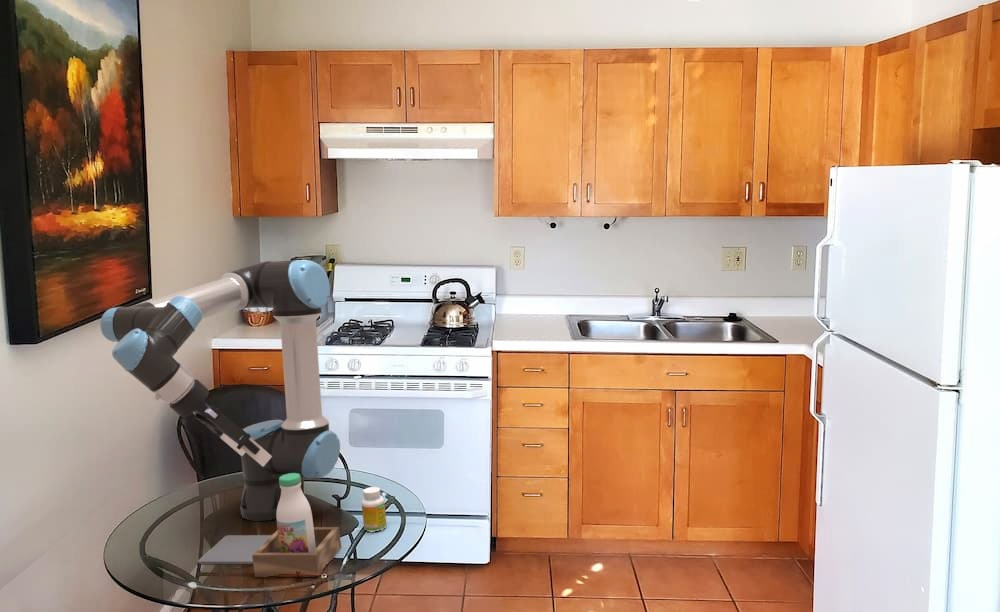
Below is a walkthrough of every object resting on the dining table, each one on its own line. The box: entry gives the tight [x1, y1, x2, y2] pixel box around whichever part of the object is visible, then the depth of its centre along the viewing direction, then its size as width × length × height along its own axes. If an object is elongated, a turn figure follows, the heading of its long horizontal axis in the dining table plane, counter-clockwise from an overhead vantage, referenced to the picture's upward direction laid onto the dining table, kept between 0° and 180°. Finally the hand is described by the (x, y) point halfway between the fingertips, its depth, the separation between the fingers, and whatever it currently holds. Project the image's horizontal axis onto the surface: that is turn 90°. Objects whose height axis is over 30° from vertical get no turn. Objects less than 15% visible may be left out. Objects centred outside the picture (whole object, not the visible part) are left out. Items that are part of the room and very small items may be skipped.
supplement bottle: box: [361, 486, 387, 533], centre depth 203 cm, size 5×5×10 cm
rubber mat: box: [196, 534, 273, 565], centre depth 197 cm, size 14×14×1 cm
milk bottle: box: [275, 473, 316, 553], centre depth 187 cm, size 8×8×20 cm
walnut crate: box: [252, 526, 342, 578], centre depth 188 cm, size 14×14×5 cm
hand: (256, 456), depth 181 cm, fingers open, 13 cm apart
